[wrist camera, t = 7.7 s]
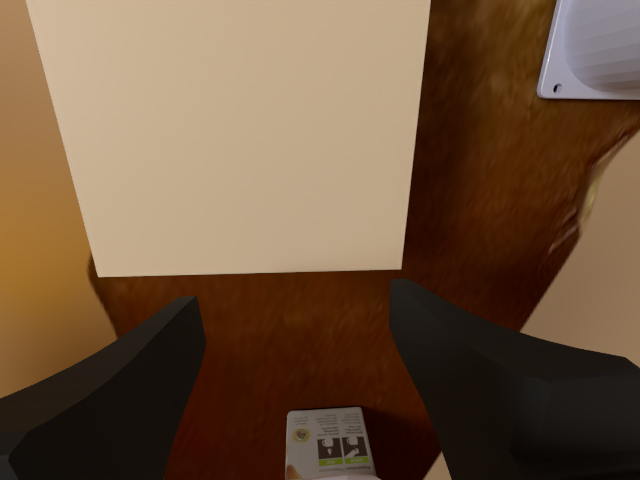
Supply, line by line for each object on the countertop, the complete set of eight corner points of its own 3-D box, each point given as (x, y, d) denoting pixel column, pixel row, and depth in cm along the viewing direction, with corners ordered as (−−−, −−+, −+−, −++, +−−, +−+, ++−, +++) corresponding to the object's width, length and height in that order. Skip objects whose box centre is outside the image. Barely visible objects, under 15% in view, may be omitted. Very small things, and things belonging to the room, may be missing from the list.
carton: (388, 12, 17) (434, -38, 11) (372, 228, 21) (401, 269, 16) (109, 2, 16) (10, -59, 10) (151, 232, 20) (98, 276, 15)
